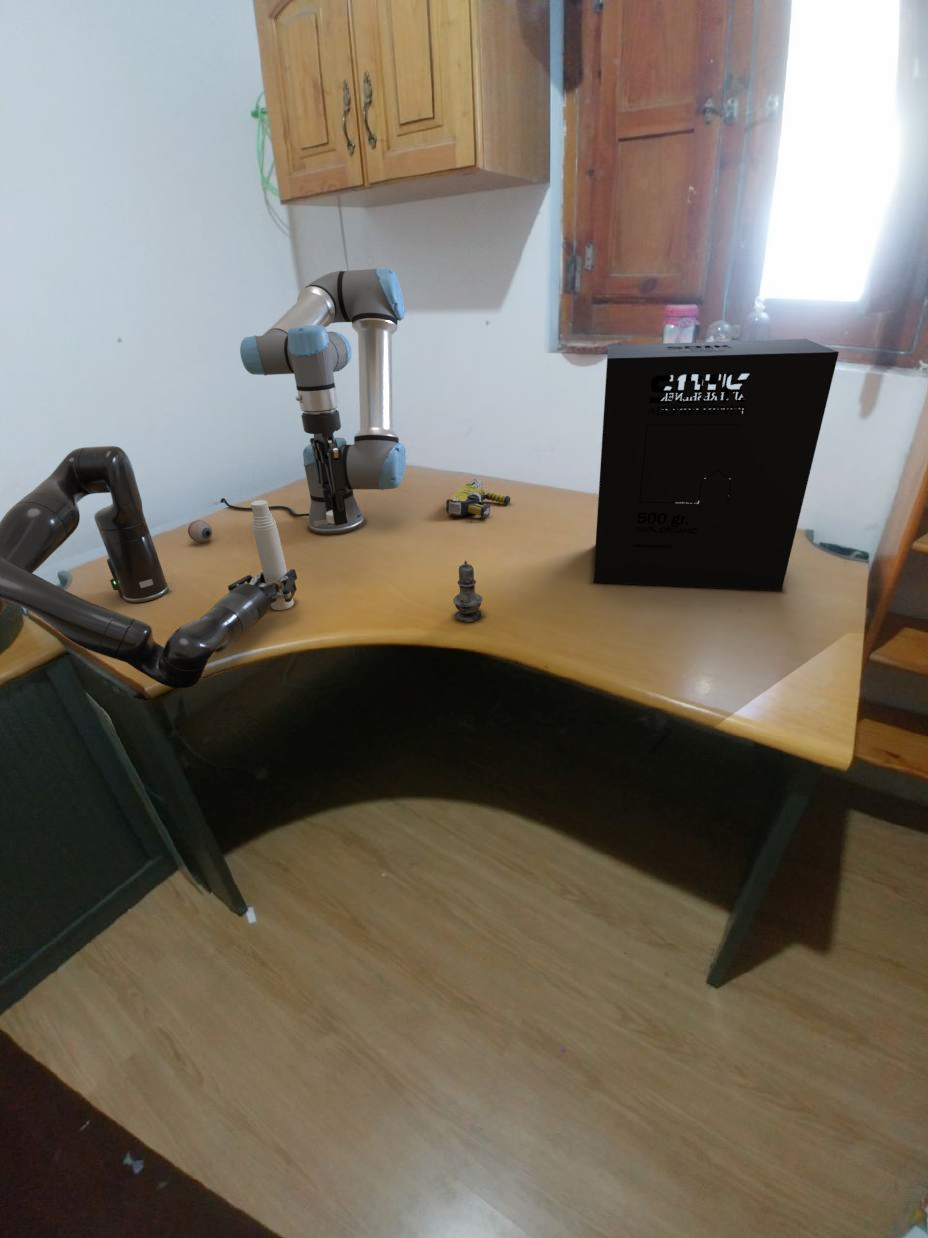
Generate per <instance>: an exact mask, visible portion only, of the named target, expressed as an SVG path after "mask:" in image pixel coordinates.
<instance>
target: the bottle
mask: <svg viewBox="0 0 928 1238" xmlns="http://www.w3.org/2000/svg"><path fill="white" fill-rule="evenodd" d="M269 507H270V506H269V502H268V500H266V499H258V500H254V501H252V502H251V503H250V508H252V510H251V511H252V519H251V520H252V522H251V523H252V524H251V527H252V532H253V533H252V534H253V538H254V541H255V544H256V549H257V553H258V557H259V562H260V566H261V571H262V572H263V574H264V578H265V583H267V582H269V581H271V580H273V579H280V578H282V577H283V576H284V575H285V574H286V573H287V572H288V570H287V566H286V561H285V555H284V552H283V547H282V543H281V537H280V533H279V529H278V524H277V521H276V520H275V518H274V516H273V514H272V512H271V511H270V509H269ZM274 586H275V585H274ZM281 586H282V587H283V586H284V585H283V583H281ZM294 604H295V601H294V597H293V598H292V600H291V601H290V602H285V599H277V601H275V602H273V603H271V604H270V608H271V609H273V610H274V611H284V610H288V609H289V608H291V607H292V606H293V607H294Z"/></svg>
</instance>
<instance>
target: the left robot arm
mask: <svg viewBox="0 0 928 1238" xmlns="http://www.w3.org/2000/svg"><path fill="white" fill-rule="evenodd" d="M94 494H110V497H111V502H112V504H110V505H107V506H105V507H102V508H100V509H99V510H98V511H96V512H95V513H94V516H93V517H94V518H93V519H94V522H95V525H96V527H97V529H98V532H99V534H100V537H101V539H102V542H103V545H104V548H105V551H106V553H107V555H108V558H107V559H106V563H107V565H108V569H109V571H110V573H111V576H112V578H111V579H110V580H109V582H110V585H111V588H112V590H113V591H117V592H118V595H119V598H120V599H123V600H124V601H125V602H127V603H131V604H138V603H140V604H141V603H145V602H146V603H147V602H150V601H153V600H156V599H159V598H160V597H162V596H164V595H165V594H167V593H168V592H169V589H170V588H169V584H168V582H167V580H166V577H165V575H164V570H163V568H162V565H161V562H160V559H159V556H158V553H157V550H156V547H155V543H154V541H153V538H152V535H151V531H150V529H149V526H148V523H147V521H146V518H145V514H144V509H143V508H144V507H143V500H142V497H141V494H140V490H139V486H138V483H137V479H136V475H135V470H134V468H133V464H132V462H131V459H130V458H129V456H128V454H127V453H126V451H124V449H123V448H121V447H120V446H116V445H102V446H85V447H79V448H75V449H73V450H71V451H69V453H67V455H66V456H65V457H64V458H63V459H62V461H61V462H60V463H59V464H58V465H57V466H56V468H55V469H54V470H53V472H52V473H51V474H49V476H48V477H47V478H45V479H44V480H43V481H42V482H41V483H40V484H39V485H37V486H36V487H35V488H34V489H33V490H32V491H30V492H29V493H28V494H26V495H25V496H23V497H22V498H21V499H20V500H19V501H18V502H16V503H15V504H14V505H13V506H12V507H11V508H9V510H7V512H5V514H4V516H3V517H2V518H1V520H0V616H1V615H2V614H3V612H4V611H5V609H6V608H7V607H8V605H9V604H10V603H12V604H14V605H17V606H19V607H22V608H23V609H25V610H27V611H29V612H30V613H32V614H33V615H36V616H37V617H39V618H40V619H41V620H43V621H44V622H46V623H47V624H49V625H50V626H51V627H52V628H54V629H55V630H56V631H58V633H60V634H61V635H62V636H63V637H65V638H66V639H68V640H69V641H70V642H72V643H74V644H76V645H77V646H79V647H81V648H83V649H85V650H88V651H91V652H94V653H96V654H100V655H102V656H104V657H108V658H111V659H114V660H117V661H121V662H124V663H126V664H128V665H129V666H130V667H132V668H134V669H135V670H137V671H138V672H140V673H142V674H144V675H145V676H147V677H149V678H150V679H152V680H154V681H155V682H156V683H159V684H161V685H163V686H166V687H169V688H173V689H186V688H191V687H193V686H195V685H197V683H198V682H199V681H200V679H201V678H202V675H203V673H204V671H205V670H206V667H207V665H208V662H209V660H210V658H211V657H212V655H213V654H218V653H221V652H223V651H225V650H227V649H228V648H229V647H230V646H231V645H232V644H234V643H235V642H236V641H237V640H238V639H239V638H240V637H241V636H242V635H244V634H246V633H247V632H248V631H249V630H250V629H251V628H252V627H254V626H255V625H256V624H257V623H258V622H259V621H260V620H261V619H262V618H263V617H264V616H265V615H266V614H267V613H268V611H269V608H270V607H271V603H273V602H275V601H277V599H285V602H290V601H291V600H292V598H293V599H294V596H295V594H296V592H297V585H296V580H297V579H298V575H297V571H296V570H295V569H294V568H293V569H292V568H291V569H289V570H287V573H286V574H285V575H284V576H283V577H282V578H280V579H273V580H271V581H269V582H267V583H265V578H264V574H263V571H261V572H260V573H257V574H255V575H254V576H252V575H251V574H247V575H245V576H243V577H242V578H240V579H238V580H236V581H234V582H232V583H231V584H229V585H227V589H228V593H227V594H226V595H225V596H223V597H222V598H221V599H219V600H218V601H217V602H216V603H215V605H214V606H213V607H212V608H211V609H210V610H208V611H207V612H206V613H205V614H204V615H203V616H201V617H200V618H199V619H196V620H193V621H191V622H189V623H187V624H185V625H182V626H180V627H179V628H177V629H175V631H174V632H173V633H172V634H171V635H170V636H169V637H168V639H167V640H166V642H165V645H164V646H162V645H161V644H159V643H158V642H156V641H155V640H154V637H153V635H154V634H153V628H152V627H151V625H150V624H149V623H147V622H144V621H141V620H139V619H135V618H133V617H130V616H128V615H125V614H123V613H119V612H116V611H115V610H111V609H108V608H106V607H102V606H100V605H97V604H95V603H92V602H90V601H88V600H86V599H83V598H82V597H79V596H77V595H76V594H73V593H72V592H69V591H67V590H65V589H64V588H61V587H59V586H58V585H56V584H54V583H52V582H50V581H48V580H46V579H44V578H43V577H40V576H39V575H37V574H35V573H34V572H36V570H37V569H39V568H40V567H41V566H42V565H43V564H44V563H45V561H47V559H48V558H50V557H51V555H52V554H53V553H55V551H57V550H58V549H59V548H60V547H61V546H62V545H63V544H64V543H65V542H66V541H67V540H68V539H69V538H70V537H71V536H72V535H73V534H74V533H75V531H76V529H77V528H78V526H79V524H80V519H81V518H80V517H81V514H80V509H79V506H78V502H80V501H81V500H82V499H83V498H85V497H86V496H89V495H94ZM281 583H283V585H284V586H283V587H282V586H281ZM274 585H275V586H274Z"/></svg>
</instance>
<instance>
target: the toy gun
mask: <svg viewBox="0 0 928 1238" xmlns="http://www.w3.org/2000/svg"><path fill="white" fill-rule="evenodd" d="M482 486H483V480H481V479H478V480H477V479H476V478H474V479H472V480H471V481H470V482H469V483H466V484H465V485H463V486H462V487H461V488H460V489H458V490H457V491H456V492H455V493H454V494H452V495H451V496H450V497H449V498H448V499H446V501H445V512H446V513H447V514H450V516H454V517H456V516H467V515H477V516H479V517H480V519H481V520H484V519H486V518H487V517H489V516H490V513H491V504H490V503H485V504H484V502H483V501H485V500H488V501H491V502H496V503H499V504H501V503H502V504H504V505H509V504H510V503H511V497H510V495H503V494H500V493H495V492H492V491H487V493H486V494H485V491H484V490H483V488H481V487H482Z"/></svg>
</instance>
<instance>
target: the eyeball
mask: <svg viewBox="0 0 928 1238" xmlns="http://www.w3.org/2000/svg"><path fill="white" fill-rule="evenodd" d="M187 534H188V537H189V538H190V539H191V540H192V541H193V542H196V543H198V544H199V543H201V544H202V543H207V542H208V541H209V540H211V538H212V536H213V527H212V526H211V524H210V523H209V522H207V521H205V520H201V519H197V520H193V521H192V522H191V523H190V524H189V525H188V527H187Z"/></svg>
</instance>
